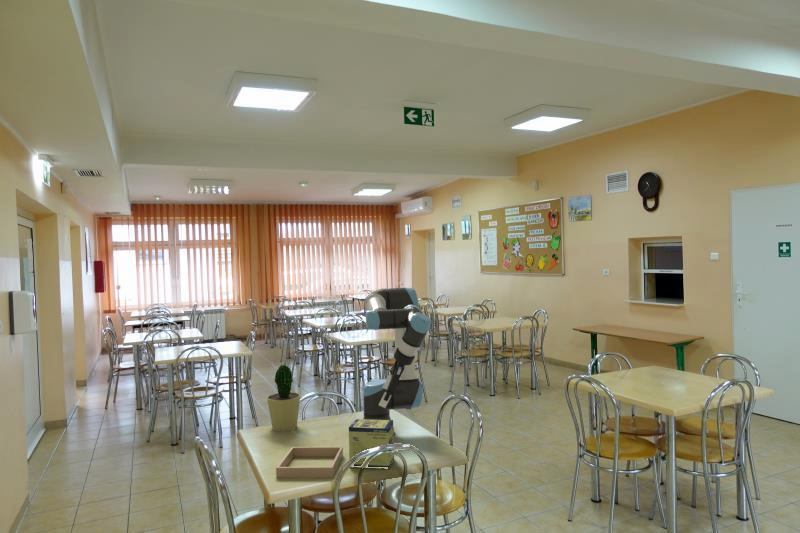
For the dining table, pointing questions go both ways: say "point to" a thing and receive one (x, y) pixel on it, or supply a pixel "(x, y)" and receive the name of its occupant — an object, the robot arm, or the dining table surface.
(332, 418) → the dining table surface
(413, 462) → the dining table surface
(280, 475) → the tray
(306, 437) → the dining table surface
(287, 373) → the potted cactus
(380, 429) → the protein box
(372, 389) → the robot arm
